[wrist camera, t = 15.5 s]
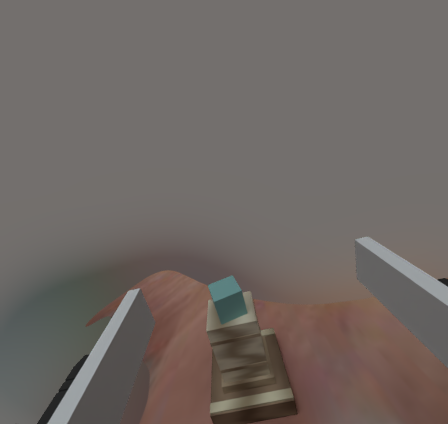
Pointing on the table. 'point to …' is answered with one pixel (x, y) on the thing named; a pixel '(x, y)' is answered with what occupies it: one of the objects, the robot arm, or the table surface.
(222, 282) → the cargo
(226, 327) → the wooden block tower
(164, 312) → the table surface
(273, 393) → the dock
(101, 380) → the robot arm
